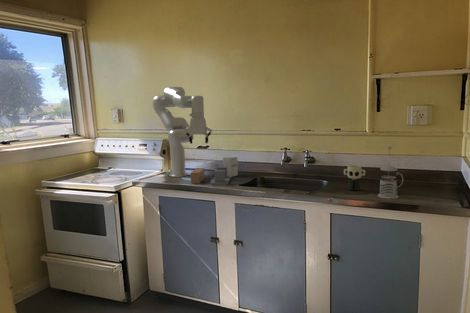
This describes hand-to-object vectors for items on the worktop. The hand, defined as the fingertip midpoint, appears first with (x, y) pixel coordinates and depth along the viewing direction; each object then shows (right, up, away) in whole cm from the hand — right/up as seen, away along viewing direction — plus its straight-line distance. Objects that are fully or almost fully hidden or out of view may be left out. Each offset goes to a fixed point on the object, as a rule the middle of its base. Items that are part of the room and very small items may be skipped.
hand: (198, 143), depth 237 cm
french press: (+99, -28, -48) cm, 114 cm away
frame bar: (-1, -24, +3) cm, 24 cm away
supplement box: (+19, -21, +18) cm, 34 cm away
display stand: (+14, -24, -1) cm, 27 cm away
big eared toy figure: (+87, -26, -33) cm, 96 cm away
